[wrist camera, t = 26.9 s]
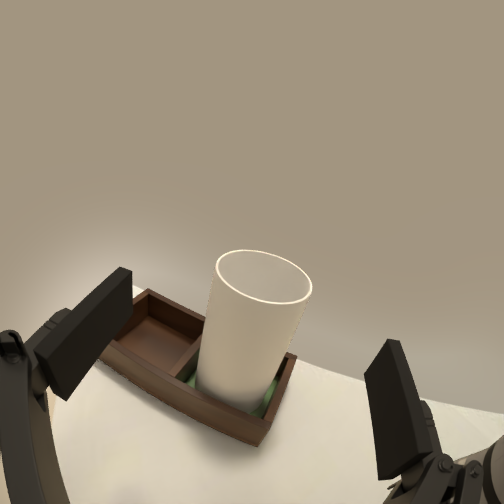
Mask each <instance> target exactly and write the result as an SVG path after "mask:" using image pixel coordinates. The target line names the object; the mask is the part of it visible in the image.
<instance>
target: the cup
mask: <svg viewBox="0 0 504 504" xmlns="http://www.w3.org/2000/svg"><path fill="white" fill-rule="evenodd" d="M311 292H312V283H311V281H310V279H309V277H308V276H307V275H306V273H305V272H304V271H303V270H301V269H300V268H299V267H298V266H296V265H294V264H293V263H291V262H289V261H288V260H286V259H283V258H281V257H278V256H275V255H273V254H269V253H266V252H260V251H254V250H237V251H231V252H228V253H226V254H224V255H222V256H221V257H220V258H219V259H218V260H217V262H216V265H215V270H214V274H213V280H212V284H211V290H210V295H209V301H208V306H207V312H206V317H205V323H204V329H203V335H202V340H201V346H200V352H199V359H198V365H197V371H196V377H195V389H197V390H199V391H201V392H203V393H205V394H207V395H209V396H211V397H213V398H215V399H217V400H219V401H221V402H223V403H225V404H228V405H230V406H232V407H234V408H236V409H239V410H241V411H243V412H246V413H248V414H249V413H251V412H253V411H254V410H256V409H257V408H258V407H259V406H260V404H261V403H262V401H263V399H264V397H265V395H266V393H267V391H268V389H269V387H270V385H271V383H272V381H273V379H274V377H275V375H276V372H277V370H278V368H279V366H280V364H281V362H282V360H283V358H284V356H285V353H286V351H287V349H288V347H289V345H290V342H291V340H292V338H293V335H294V333H295V331H296V329H297V326H298V324H299V322H300V319H301V317H302V315H303V313H304V310H305V308H306V305H307V303H308V301H309V298H310V295H311Z"/></svg>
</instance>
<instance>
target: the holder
mask: <svg viewBox="0 0 504 504" xmlns="http://www.w3.org/2000/svg"><path fill="white" fill-rule="evenodd" d="M204 323H205V317H204V316H202V315H200V314H198V313H196V312H194V311H192V310H190V309H187V308H185V307H184V306H182V305H179V304H178V303H175V302H173V301H171V300H170V299H168V298H166V297H164V296H162V295H160V294H158V293H156V292H154V291H152V290H150V289H146V290H145V291H143V292H142V293H140V294H139V295H138V296H136V297H135V298H133V314H132V316H131V317H130V318H129V319H128V321H127V322H126V323H125V324H124V326H123V327H122V328H121V329H120V331H119V332H118V333H117V334H116V336H115V337H114V338H113V340H112V341H111V342H110V343H109V345H108V346H107V347H106V349H105V350H104V351H103V352H102V354H101V355H100V356H99V359H100V360H102V361H103V362H104V363H106V364H107V365H108V366H110V367H111V368H113V369H114V370H115V371H117V372H118V373H120V374H121V375H122V376H124V377H125V378H127V379H128V380H130V381H131V382H133V383H134V384H136V385H137V386H139V387H140V388H142V389H143V390H145V391H146V392H148V393H150V394H151V395H153V396H155V397H156V398H158V399H160V400H161V401H163V402H165V403H166V404H168V405H170V406H172V407H173V408H175V409H177V410H179V411H180V412H182V413H184V414H186V415H188V416H190V417H192V418H194V419H196V420H197V421H199V422H201V423H203V424H205V425H208V426H210V427H212V428H214V429H216V430H218V431H220V432H222V433H225V434H227V435H229V436H231V437H234V438H236V439H238V440H241V441H243V442H246V443H248V444H251V445H253V446H256V447H258V445H259V444H260V442H261V441H262V440H263V438H264V437H265V435H266V434H267V432H268V431H269V429H270V427H271V424H272V422H273V419H274V417H275V415H276V412H277V410H278V407H279V405H280V402H281V399H282V397H283V394H284V392H285V389H286V386H287V384H288V381H289V378H290V376H291V373H292V370H293V367H294V365H295V362H296V359H297V356H296V355H293V354H291V353H288V352H286V353H285V356H284V358H283V360H282V362H281V364H280V366H279V368H278V370H277V372H276V375H275V377H274V379H273V381H272V383H271V385H270V387H269V389H268V391H267V393H266V395H265V397H264V399H263V401H262V403H261V404H260V406H259V407H258V408H257V409H256V410H254V411H253V412H251V413H249V414H248V413H246V412H243V411H241V410H239V409H236V408H234V407H232V406H230V405H228V404H225V403H223V402H221V401H219V400H217V399H215V398H213V397H211V396H209V395H207V394H205V393H203V392H201V391H199V390H197V389H195V377H196V371H197V365H198V359H199V352H200V346H201V340H202V335H203V329H204Z"/></svg>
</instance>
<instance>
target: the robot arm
mask: <svg viewBox="0 0 504 504" xmlns="http://www.w3.org/2000/svg"><path fill="white" fill-rule="evenodd" d="M132 314H133V294H132V271H131V270H128V269H125V268H122V267H119V268H118V269H116V270H115V271H114V272H113V273H112V274H111V275H110V276H108V277H107V278H106V279H105V280H104V281H103V282H102V283H101V284H100V285H99V286H97V287H96V288H95V289H94V290H93V291H92V292H91V293H90V294H89V295H87V296H86V297H85V298H84V299H83V300H82V301H81V302H80V303H79V304H78V305H77V306H76V307H75V308H74V309H73V310H72V311H71V310H69V309H67V308H64V309H62V310H60V311H58V312H56V313H55V314H54V315H53V316H52V317H51V318H50V319H49V321H46V323H44V325H43V326H41V328H39V329H38V330H37V331H36V332H35V333H34V334H33V335H32V336H31V337H30V338H29V339H28V340H27V341H26V342H25V343H24V344H23V341H22V339H21V336H20V335H19V333H18V332H16V331H14V330H6V331H3V332H1V333H0V451H1V453H2V461H3V468H4V474H5V479H6V485H7V489H8V494H9V498H10V502H11V504H70V502H69V499H68V496H67V492H66V489H65V486H64V483H63V479H62V476H61V472H60V468H59V464H58V460H57V455H56V451H55V446H54V441H53V435H52V429H51V423H50V416H49V408H48V400H47V392H46V389H47V387H48V386H50V388H51V390H52V391H53V393H54V394H56V395H57V396H59V397H60V398H62V399H63V400H65V401H67V400H68V399H69V397H70V396H71V394H72V393H73V392H74V390H75V389H76V387H77V386H78V385H79V383H80V382H81V380H82V379H83V378H84V376H85V375H86V374H87V372H88V371H89V370H90V368H91V367H92V366H93V364H94V363H95V362H96V360H97V359H98V358H99V356H100V355H101V354H102V352H103V351H104V350H105V349H106V347H107V346H108V345H109V343H110V342H111V341H112V340H113V338H114V337H115V336H116V334H117V333H118V332H119V331H120V329H121V328H122V327H123V326H124V324H125V323H126V322H127V321H128V319H129V318H130V317H131V316H132ZM364 378H365V383H366V389H367V394H368V400H369V407H370V413H371V420H372V427H373V435H374V443H375V451H376V461H377V472H378V480H390V479H394V478H395V477H397V476H399V475H400V474H401V478H402V479H401V480H399V481H398V482H396V483H394V484H392V485H391V486H389V487H388V488H387V489H388V490H389V489H391V488H393V487H394V488H393V490H392V491H391V493H390V494H389V496H388V497H387V498H386V500H385V501H384V503H383V504H504V435H503V436H502V437H501V438H500V439H499V440H497V441H496V442H495V443H494V444H493V445H491V446H490V447H489V448H487V449H484V450H482V451H479V452H477V453H474V454H471V455H469V456H466V457H463V458H460V459H458V460H455V461H453V460H452V458H451V457H450V456H449V455H447V454H443V453H442V450H441V446H440V442H439V438H438V434H437V430H436V427H435V423H434V420H433V416H432V413H431V410H430V408H429V406H428V405H427V403H426V402H425V401H422V400H420V399H419V396H418V392H417V389H416V386H415V383H414V380H413V377H412V374H411V371H410V368H409V365H408V363H407V360H406V357H405V354H404V352H403V349H402V346H401V343H400V341H398V340H392V339H387V340H386V342H385V344H384V345H383V347H382V348H381V350H380V351H379V353H378V354H377V356H376V357H375V359H374V360H373V362H372V363H371V365H370V366H369V368H368V369H367V371H366V372H365V373H364Z"/></svg>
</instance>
